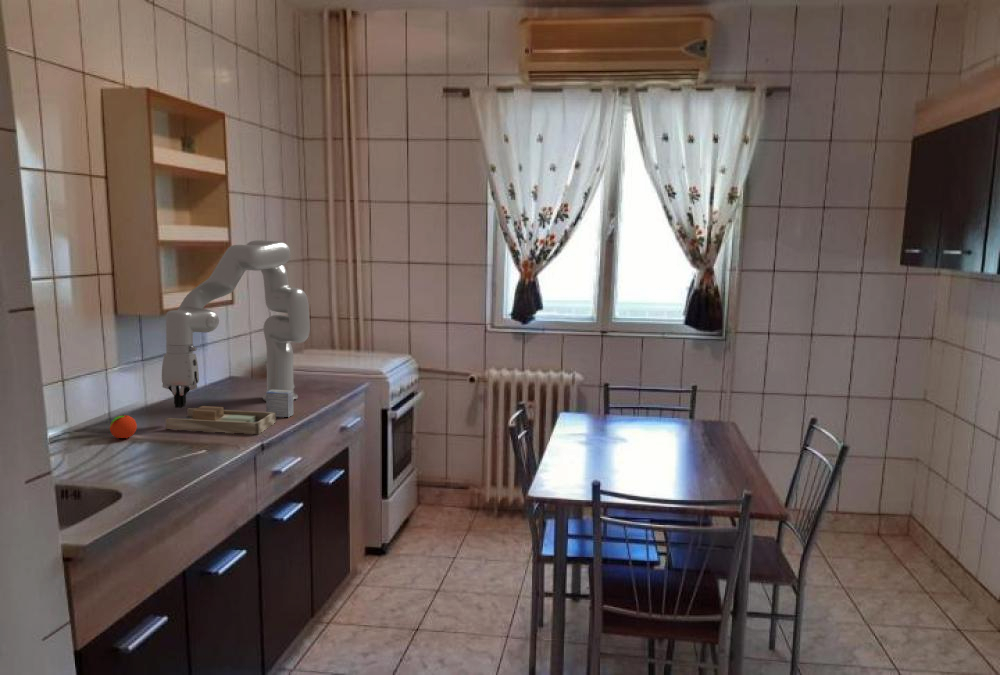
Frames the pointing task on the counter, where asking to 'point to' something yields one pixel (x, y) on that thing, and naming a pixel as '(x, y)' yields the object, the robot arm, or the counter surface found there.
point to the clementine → (123, 426)
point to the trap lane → (226, 422)
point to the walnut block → (208, 413)
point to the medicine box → (280, 402)
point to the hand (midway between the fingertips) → (180, 406)
